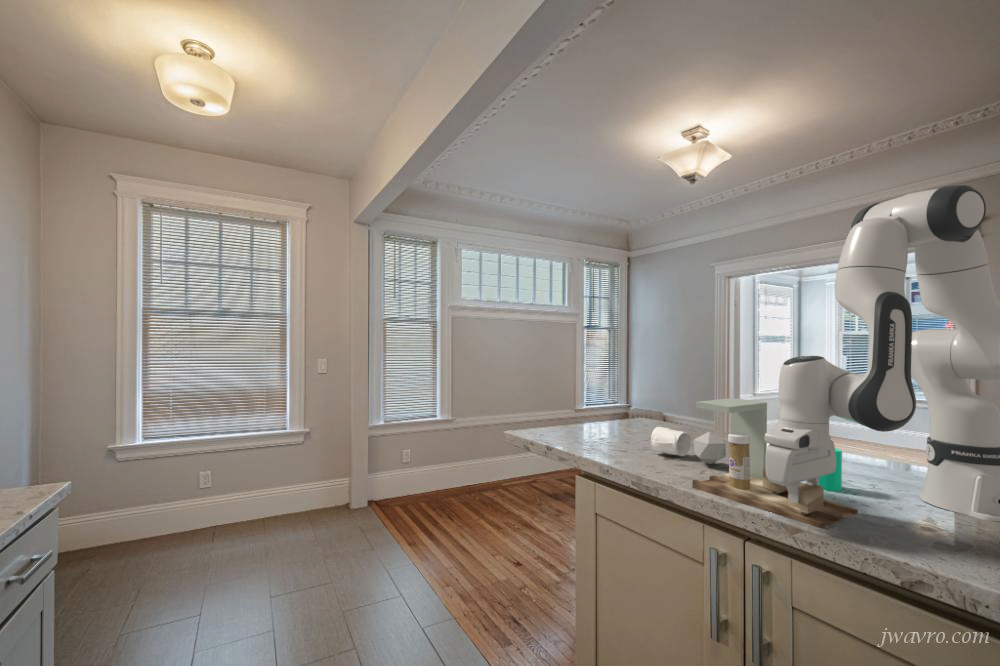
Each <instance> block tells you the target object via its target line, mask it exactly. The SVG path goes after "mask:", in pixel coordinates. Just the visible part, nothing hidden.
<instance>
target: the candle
mask: <svg viewBox="0 0 1000 666" xmlns="http://www.w3.org/2000/svg"><path fill="white" fill-rule="evenodd" d="M835 453H836V469H835V472H834V473H832V474H828V475H824V476H821V477H820V481H819V484H818V485H819V486H823V487H824V490H826V491H825V492H831V491H834V492H835V491H837V492H841V491H842V487H843V486H842V485H843V484H842V480H843V479H842V478H843V477H842V474H843V471H842V470H843V469H842V468H843V463H842V462H843V461H842V460H843V450H841V449H839V448H836V447H835ZM840 490H841V491H840Z"/></svg>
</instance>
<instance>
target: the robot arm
mask: <svg viewBox="0 0 1000 666" xmlns="http://www.w3.org/2000/svg"><path fill="white" fill-rule="evenodd" d="M986 213H987V204H986V201H985V199H984V196H983V194H982V193H980V191H978V190H976V189H975V188H973V187H972V186H970V185H966V184H965V185H964V184H963V185H961V184H959V185H958V184H955V185H945V186H942V187H939V188H934V189H926V190H920V191H915V192H911V193H907V194H905V195H902V196H898V197H895V198H892V199H889V200H886V201H883V202H876V203H874V204H870V205H868V206H866V207H864V208H862V209H861V210H860V211H858V213H856V215H855V216H854V218H853V220H852V222H851V225H850V230H849V232H848V235H847V237H846V239H845V241H844V244H843V247H842V250H841V253H840V257H839V261H838V266H837V271H836V276H835V281H834V295H835V299H836V301H837V302H838V303H839V305H840V306H841V307H842V308H844V309H845V310H846V311H847V312H849V313H851V314H853V315H855V316H856V317H859V318H860V319H861V320H862V321H863V322H864V323H865V325H866V326H867V329H868V335H869V337H868V339H869V340H868V355H867V356H868V357H867V358H868V359H867V370H866V372H865V374H860V373H855V372H854V373H853V372H851V371H849V370H845V369H843V368H841V367H838V366H836V365H835V364H833V363H831V362H829V361H828V360H827V359H826V358H825V357H823V356H820V355H805V356H804V355H802V356H796V357H791V358H789V359H787V360H786V361H784V362H783V363H782V365H781V368H780V372H779V379H778V400H779V404H780V408H779V411H778V412H779V413H778V416H777V417H778V418H777V419H778V422H777V423H775V424H774V426H773V427H772V428H771V429H768V431H767V432H766V433H765V442H766V443H767V444H768V445H767V449H766V476H767V478H768V480H769V481H770V482H772V483H775V484H778V485H782V486H786V488H787V490H788V492H789V500H790V501H791V502H794V503H799V490H798V487H799V486H800V482H801V483H803V482H805V484H808V485H815V484H816V485H818V484H819V481H820V477H821V476H824V475H828V474H832V473H834V472H835V469H836V453H835V448H836V446H835V443H834V441H833V439H832V438H831V435H830V418H831V417H833V416H834V417H838V418H841V419H843V420H846V421H850V422H853V423H857V424H859V425H861V426H863V427H866V428H869V429H871V430H873V431H877V432H881V433H882V432H883V433H885V432H892V431H896V430H899V429H902V427H904V426H906V425H907V424H908V423H909V421H911V419H912V417H914V414H915V412H916V409H917V400H916V393H915V389H914V385H913V382H912V381H913V380H914V381H915V383H916V384H917V385H918V386H919V388H920V389H921V391H922V392H923V395H924V397H925V400H926V402H927V407H928V419H929V436H928V437H927V438H926V439H927V440H926V447H925V449H926V450H925V453H926V454H925V455H926V461H927V462H928V464H927V469H926V475H925V480H924V482H923V483H924V484H923V486H922V490H921V492H920V494H919V499H920V500H922V501H923V502H925V503H928V504H929V505H932V506H935V507H937V508H941V509H943V510H947V511H951V512H954V513H958V514H963V515H966V516H969V517H972V518H976V519H979V520H983V521H990V522H1000V409H999V407H998V406H997V405H996V404H995V403H993V402H992V401H991V400H988V399H987V398H984V397H982V396H980V395H978V394H976V393H975V392H974V391H973V390H972V389H971V387H970V386H969V384H968V380H979V381H980V380H981V381H991V382H992V381H993V382H1000V301H999V300H998V298H997V295H996V291H995V288H994V285H993V281H992V275H991V269H990V263H989V259H988V253H987V249H986V245H985V242H984V239H983V237H982V234H981V232H980V230H979V229H980V227H981V225H982V224H983V222H984V220H985V217H986ZM909 248H914V261H915V271H916V278H917V283H918V290H919V295H920V296H919V297H920V301H921V305H922V306H923V307H924V308H925V310H927V311H929V313H932V314H934V315H936V316H937V315H938V316H940V317H943V318H945V319H947V320H948V321H950V322H951V324H952V325H954V327H955V328H944V329H943V328H935V329H933V328H932V329H931V328H930V329H929V328H928V329H927V328H926V329H920V330H915V331H914V330H913V314H912V313H913V312H912V307H911V303H910V302H909V300H908V299H907V298H906V292H905V279H906V274H907V273H906V272H907V267H908V256H909ZM912 379H913V380H912Z"/></svg>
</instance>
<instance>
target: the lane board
mask: <svg viewBox="0 0 1000 666" xmlns="http://www.w3.org/2000/svg"><path fill="white" fill-rule="evenodd" d="M726 473H729V471H728V472H726ZM727 482H730V480H727V479H724V478H722V476H717V475H710V476H709V479H706V480H698V479H692V485H691V486H692V488H693V489H696V490H697V491H698V490H699V491H702V492H705V493H708V494H710V495H714V496H717V497H720V498H723V499H727V500H730V501H733V502H735V503H739V504H742V505H745V506H747V507H752V508H755V509H758V510H762V511H765V512H767V511H768V513H770V512H772V513H771V514H774V513H775V514H774V515H777V516H781V517H783V518H787V519H790V520H792V521H796V522H798V523H799V522H800V523H803V524H805V523H806V525H808V524H810V525H809V526H811V525H812V526H811V527H815V528H819V529H822V528H824V527H827V526H829V525H831V524H835V523H837V522H840V521H842V520H845V519H848V518H851V517H853V516H855V515H858V514H859V509H858V508H854V507H850V506H847V505H844V504H840V503H836V502H833V501H830V500H828V499H827V500H826V499H824V498H823V509H820V510H817V511H814V512H812V513H809V514H806V515H800V514H797V513H794V512H791V511H788V510H785V509H782V508H779V507H776V506H773V505H770V504H767V503H764V502H761V501H758V500H755V499H752V498H749V497H746V496H743V495H740V494H737V493H734V492H731V491H728V490H725V489H722V488H721V484H723V483H727ZM776 495H779V496H782V497H785V498H788V490H786V491H785V492H783V493H779V494H776Z"/></svg>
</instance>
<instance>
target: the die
mask: <svg viewBox="0 0 1000 666" xmlns="http://www.w3.org/2000/svg"><path fill="white" fill-rule="evenodd" d="M726 447H727V446H726V442H724V441H723V440H722V439H721V438H719V437H718V436H717V435H716V434H714V433H713V432H712V431H708V432H706V433H704V434H702V435H699V436H698V437H696V438H694V439H693V450H694V451H693V453H694V454H695V455H696V456H697V457H698V459H700V460H702V461H703V462H704V463H706V464H707V465H709V466H711V465H712V464H714V463H716V462H718V461H721V460H722V459H724V458H726V457H727V449H726Z"/></svg>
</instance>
